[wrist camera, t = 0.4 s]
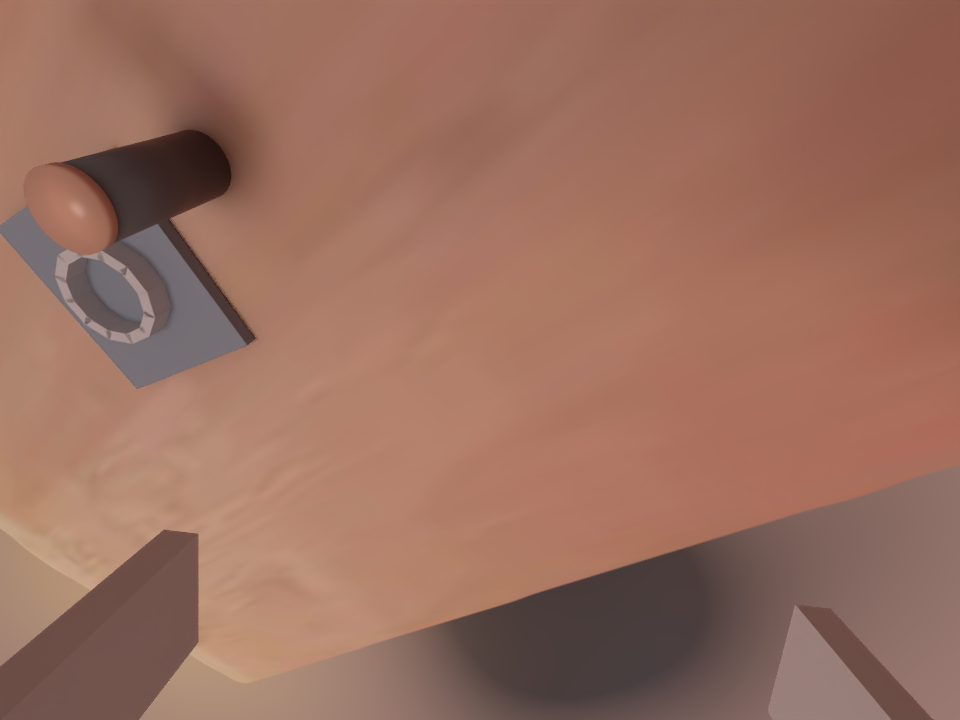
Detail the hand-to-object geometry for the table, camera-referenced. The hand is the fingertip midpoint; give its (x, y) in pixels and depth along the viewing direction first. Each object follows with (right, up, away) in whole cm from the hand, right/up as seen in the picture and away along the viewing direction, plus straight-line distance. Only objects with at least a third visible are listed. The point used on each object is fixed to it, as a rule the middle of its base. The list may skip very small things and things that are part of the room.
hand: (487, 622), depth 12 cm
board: (-32, +13, +37) cm, 50 cm away
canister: (-22, +21, +29) cm, 42 cm away
